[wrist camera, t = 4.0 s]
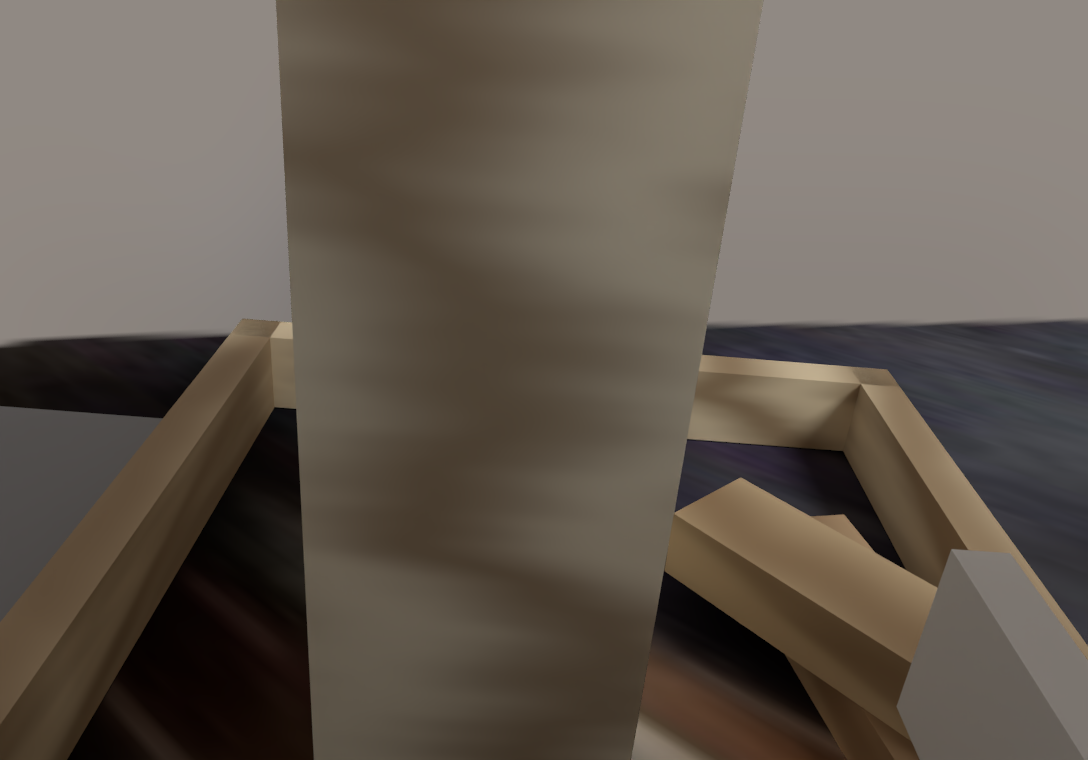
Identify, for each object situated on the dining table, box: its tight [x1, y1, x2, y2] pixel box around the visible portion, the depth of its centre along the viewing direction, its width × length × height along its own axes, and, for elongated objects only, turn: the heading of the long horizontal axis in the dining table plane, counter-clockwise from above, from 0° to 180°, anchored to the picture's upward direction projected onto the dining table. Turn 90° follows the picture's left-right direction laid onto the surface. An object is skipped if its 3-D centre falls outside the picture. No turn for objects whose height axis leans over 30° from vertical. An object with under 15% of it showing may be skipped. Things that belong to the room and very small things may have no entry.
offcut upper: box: [665, 478, 938, 741], centre depth 23 cm, size 3×9×2 cm, turn 42°
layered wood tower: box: [276, 0, 764, 760], centre depth 19 cm, size 6×10×18 cm, turn 179°
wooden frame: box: [0, 319, 1088, 760], centre depth 26 cm, size 26×24×3 cm
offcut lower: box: [786, 514, 920, 760], centre depth 24 cm, size 4×11×2 cm, turn 11°
